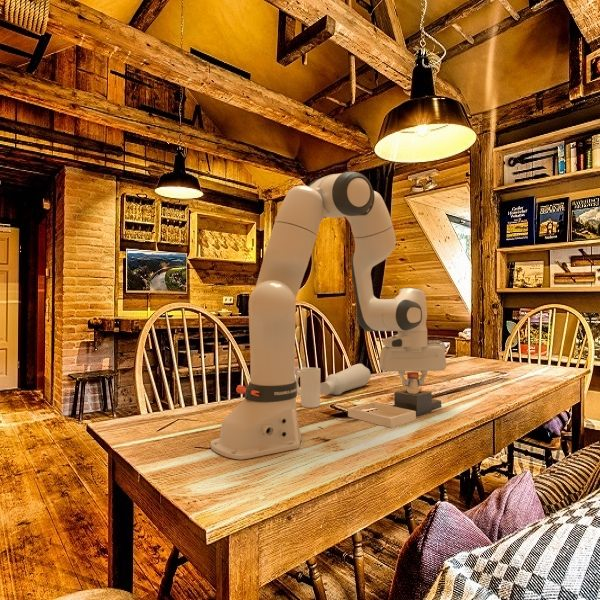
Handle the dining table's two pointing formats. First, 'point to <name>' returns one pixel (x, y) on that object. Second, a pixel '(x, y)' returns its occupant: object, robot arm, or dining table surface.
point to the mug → (309, 387)
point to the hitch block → (416, 401)
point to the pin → (413, 382)
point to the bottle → (346, 380)
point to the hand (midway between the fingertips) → (412, 385)
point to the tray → (382, 414)
